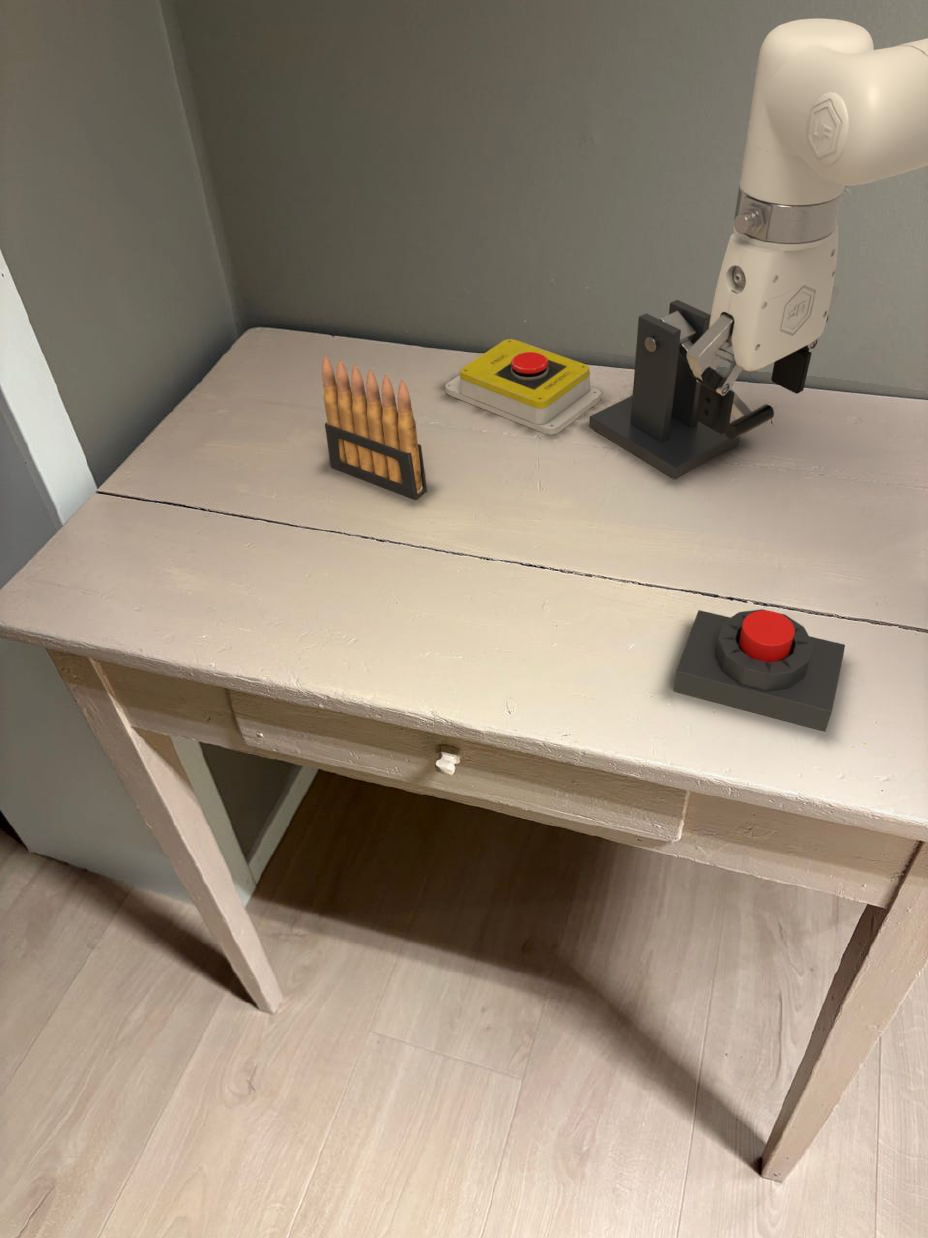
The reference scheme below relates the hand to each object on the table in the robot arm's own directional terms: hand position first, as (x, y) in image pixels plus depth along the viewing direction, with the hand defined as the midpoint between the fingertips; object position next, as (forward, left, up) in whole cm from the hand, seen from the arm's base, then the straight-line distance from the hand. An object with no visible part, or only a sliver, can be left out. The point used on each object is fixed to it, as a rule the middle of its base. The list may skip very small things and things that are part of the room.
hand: (749, 406), depth 85 cm
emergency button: (+24, -8, -8) cm, 27 cm away
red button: (-7, +25, -4) cm, 26 cm away
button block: (-7, +25, -8) cm, 27 cm away
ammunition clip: (+32, +11, -8) cm, 35 cm away
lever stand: (+8, -5, -8) cm, 12 cm away
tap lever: (+5, -3, 0) cm, 6 cm away
